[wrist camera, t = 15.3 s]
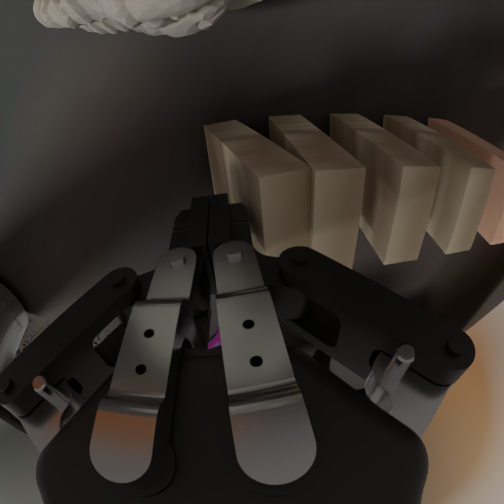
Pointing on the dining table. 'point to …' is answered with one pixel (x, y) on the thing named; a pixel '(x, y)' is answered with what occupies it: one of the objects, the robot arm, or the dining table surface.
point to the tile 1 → (262, 185)
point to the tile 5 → (500, 196)
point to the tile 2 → (326, 185)
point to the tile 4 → (449, 183)
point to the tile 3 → (389, 186)
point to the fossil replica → (135, 15)
